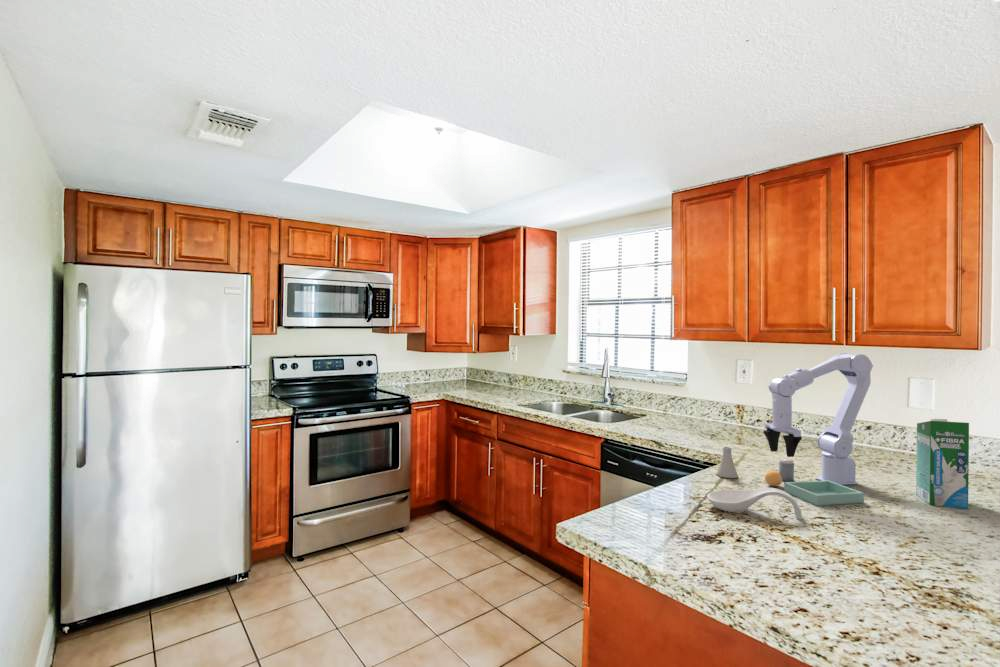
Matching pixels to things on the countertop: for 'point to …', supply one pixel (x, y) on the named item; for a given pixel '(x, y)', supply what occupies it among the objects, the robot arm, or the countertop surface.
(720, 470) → the flask
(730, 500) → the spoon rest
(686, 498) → the countertop surface
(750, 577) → the countertop surface
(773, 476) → the ball
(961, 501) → the milk carton
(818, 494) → the tray
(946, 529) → the countertop surface
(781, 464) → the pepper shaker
